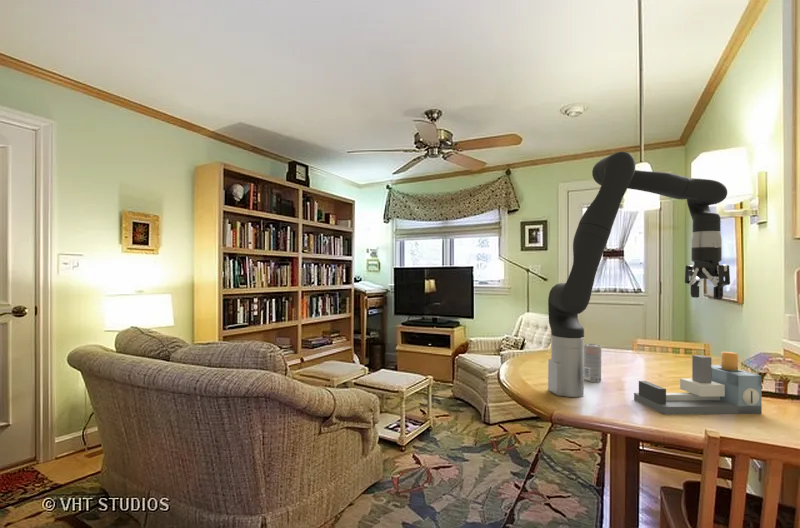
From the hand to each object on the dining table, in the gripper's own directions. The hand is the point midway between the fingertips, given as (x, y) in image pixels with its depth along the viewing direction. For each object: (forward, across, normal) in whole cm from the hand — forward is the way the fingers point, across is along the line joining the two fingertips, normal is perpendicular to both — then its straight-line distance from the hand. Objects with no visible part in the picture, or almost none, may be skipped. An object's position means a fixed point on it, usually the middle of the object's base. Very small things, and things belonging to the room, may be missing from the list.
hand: (706, 298), depth 126 cm
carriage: (+25, +13, -13) cm, 31 cm away
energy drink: (+29, -14, -29) cm, 43 cm away
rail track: (+29, +13, -15) cm, 35 cm away
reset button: (+19, +13, -5) cm, 24 cm away
